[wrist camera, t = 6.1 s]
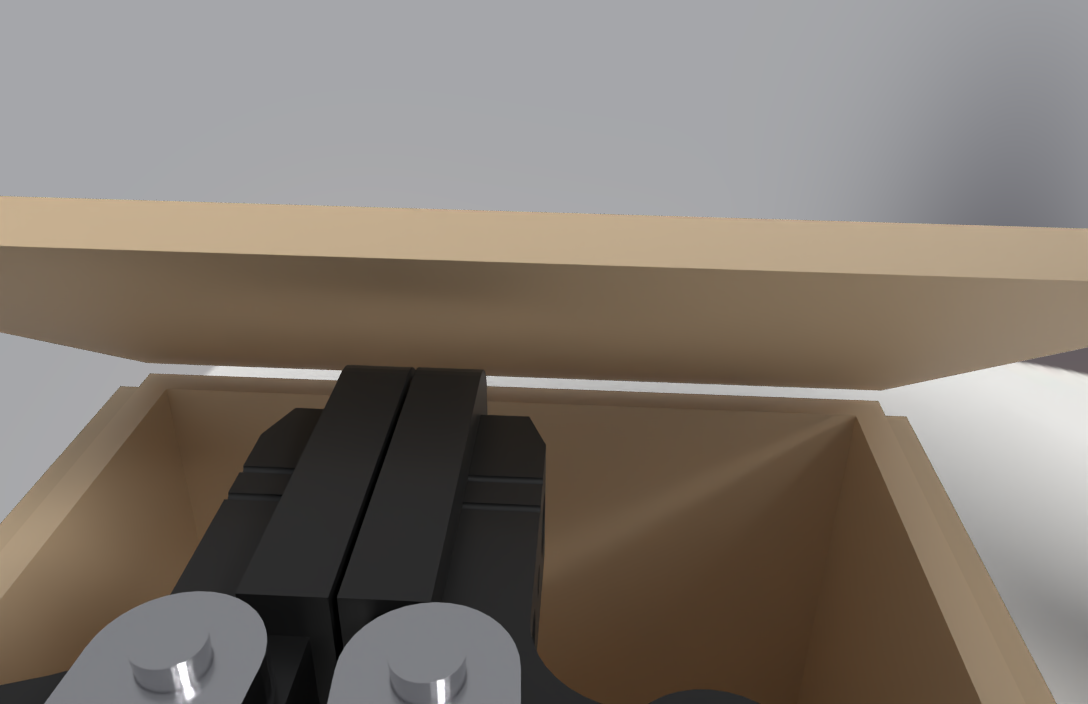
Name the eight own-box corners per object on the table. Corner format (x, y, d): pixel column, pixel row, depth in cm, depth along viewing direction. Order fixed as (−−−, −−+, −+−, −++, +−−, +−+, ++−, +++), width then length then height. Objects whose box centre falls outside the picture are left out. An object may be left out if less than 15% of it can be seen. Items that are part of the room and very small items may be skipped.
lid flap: (880, 390, 23) (880, 369, 23) (1363, 289, 9) (1359, 236, 9) (148, 362, 23) (149, 343, 23) (-489, 229, 9) (-482, 181, 9)
